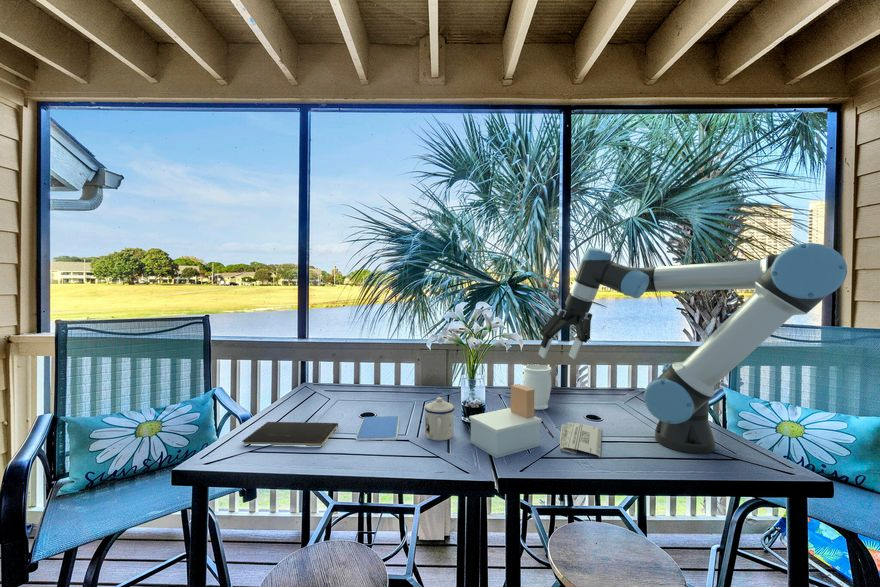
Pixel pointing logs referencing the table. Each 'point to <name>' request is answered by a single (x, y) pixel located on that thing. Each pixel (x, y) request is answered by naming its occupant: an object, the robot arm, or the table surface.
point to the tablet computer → (378, 428)
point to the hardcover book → (292, 433)
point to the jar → (538, 384)
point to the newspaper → (580, 438)
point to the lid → (511, 412)
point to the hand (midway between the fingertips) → (556, 356)
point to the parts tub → (505, 439)
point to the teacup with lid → (439, 420)
